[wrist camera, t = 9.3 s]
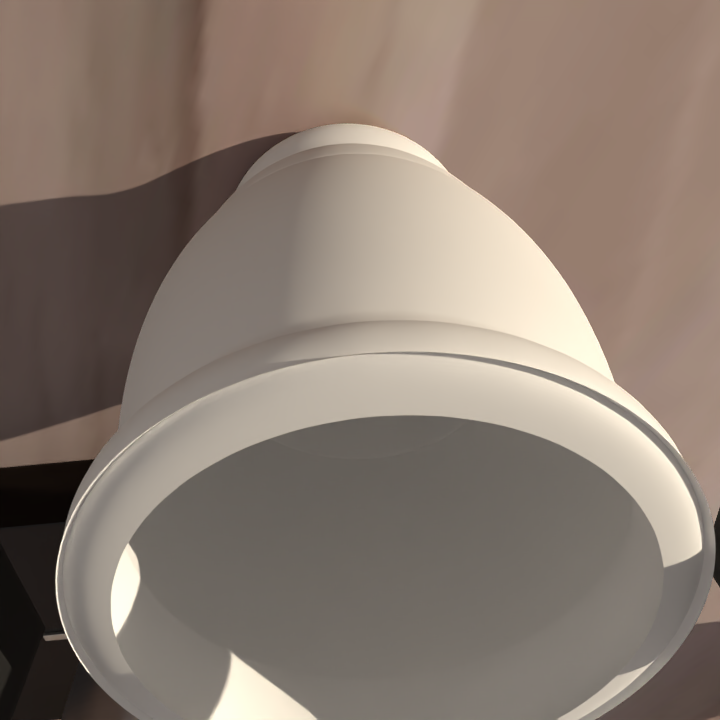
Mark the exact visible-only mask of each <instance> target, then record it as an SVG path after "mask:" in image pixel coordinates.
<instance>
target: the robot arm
mask: <svg viewBox="0 0 720 720" xmlns="http://www.w3.org/2000/svg"><path fill="white" fill-rule="evenodd" d="M714 532H715V545H716V552H715V566H714V573H713V577H714V579H715V580H716V582H717V583H718V585H719V587H720V509H719V512H718V515H717V518H716V521H715V524H714ZM45 628H46V627H45V625H44V624H43V622H42V620H41V618H40V616H39V614H38V612H37V610H36V609H35V607H34V605H33V603H32V601H31V599H30V597H29V595H28V594H27V592H26V590H25V588H24V586H23V584H22V582H21V580H20V579H19V577H18V575H17V573H16V571H15V569H14V567H13V565H12V564H11V562H10V560H9V558H8V556H7V554H6V552H5V550H4V549H3V547H2V545H1V543H0V720H12V717H13V714H14V711H15V709H16V706H17V703H18V701H19V698H20V695H21V693H22V690H23V687H24V685H25V682H26V679H27V676H28V674H29V671H30V668H31V666H32V663H33V660H34V658H35V655H36V652H37V650H38V647H39V644H40V642H41V639H42V636H43V633H44V631H45Z"/></svg>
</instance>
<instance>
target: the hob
mask: <svg viewBox="0 0 720 720" xmlns="http://www.w3.org/2000/svg"><path fill="white" fill-rule="evenodd" d="M93 461H94V460H86V461H75V462H64V463H53V464H42V465H31V466H21V467H10V468H0V543H1V545H2V547H3V549H4V550H5V552H6V554H7V556H8V558H9V560H10V562H11V564H12V565H13V567H14V569H15V571H16V573H17V575H18V577H19V579H20V580H21V582H22V584H23V586H24V588H25V590H26V592H27V594H28V595H29V597H30V599H31V601H32V603H33V605H34V607H35V609H36V610H37V612H38V614H39V616H40V618H41V620H42V622H43V624H44V625H45V627H46V628H45V631H44V633H43V636H42V639H41V642H40V644H39V647H38V650H37V652H36V655H35V658H34V660H33V663H32V666H31V668H30V671H29V674H28V676H27V679H26V682H25V685H24V687H23V690H22V693H21V695H20V698H19V701H18V703H17V706H16V709H15V711H14V714H13V717H12V720H57V719H62V715H63V712H64V709H65V706H66V703H67V700H68V696H69V693H70V690H71V687H72V684H73V680H74V677H75V674H76V671H77V668H78V664H79V661H80V660H79V659H78V657H77V656H76V654H75V652H74V650H73V649H72V647H71V645H70V643H69V640H68V638H67V636H66V633H65V631H64V628H63V625H62V622H61V618H60V615H59V610H58V605H57V598H56V566H57V559H58V553H59V549H60V545H61V541H62V538H63V533H64V529H65V524H66V520H67V517H68V513H69V510H70V507H71V504H72V501H73V499H74V496H75V494H76V492H77V490H78V488H79V486H80V484H81V482H82V480H83V478H84V476H85V474H86V473H87V471H88V469H89V468H90V466H91V464H92V463H93Z"/></svg>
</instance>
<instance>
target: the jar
mask: <svg viewBox="0 0 720 720" xmlns="http://www.w3.org/2000/svg"><path fill="white" fill-rule="evenodd" d="M715 552H716V545H715V532H714V525H713V520H712V516H711V512H710V509H709V506H708V503H707V500H706V497H705V495H704V493H703V490H702V488H701V486H700V484H699V482H698V480H697V479H696V477H695V475H694V474H693V472H692V470H691V469H690V467H689V466H688V465H687V463H686V462H685V460H684V459H683V457H682V455H681V454H680V452H679V450H678V449H677V447H676V445H675V444H674V442H673V441H672V439H671V438H670V436H669V435H668V434H667V432H666V431H665V430H664V429H663V427H662V426H661V425H660V424H659V423H658V422H657V420H656V419H655V418H654V417H653V416H652V415H651V414H650V413H649V412H648V411H647V410H646V409H645V408H644V407H643V406H642V405H641V404H640V403H639V402H638V401H637V400H636V399H635V398H633V397H632V396H631V395H630V394H629V393H628V392H626V391H625V390H624V389H623V388H621V387H620V386H618V385H617V384H616V383H615V382H614V380H613V377H612V374H611V371H610V369H609V366H608V364H607V361H606V359H605V356H604V354H603V352H602V349H601V347H600V345H599V342H598V340H597V338H596V336H595V334H594V332H593V330H592V328H591V326H590V324H589V322H588V320H587V318H586V316H585V314H584V312H583V310H582V309H581V307H580V305H579V303H578V301H577V300H576V298H575V296H574V295H573V293H572V292H571V290H570V288H569V287H568V285H567V284H566V282H565V281H564V279H563V278H562V276H561V275H560V274H559V272H558V271H557V269H556V268H555V267H554V265H553V264H552V263H551V261H550V260H549V259H548V258H547V256H546V255H545V254H544V253H543V252H542V250H541V249H540V248H539V247H538V246H537V245H536V244H535V242H534V241H533V240H532V239H531V238H530V237H529V236H528V235H527V234H526V233H525V232H524V231H523V230H522V229H521V228H520V227H519V226H518V225H517V224H516V223H515V222H514V221H513V220H512V219H510V218H509V217H508V216H507V215H506V214H505V213H504V212H502V211H501V210H500V209H499V208H498V207H496V206H495V205H494V204H492V203H491V202H490V201H488V200H487V199H486V198H484V197H483V196H482V195H480V194H479V193H477V192H476V191H474V190H473V189H471V188H470V187H468V186H467V185H466V184H464V183H463V182H462V181H460V180H459V179H458V178H456V177H455V176H453V175H452V174H450V173H449V172H448V171H447V170H446V169H445V168H444V167H443V165H442V164H441V163H440V162H439V161H438V160H437V159H436V158H435V157H434V156H433V155H431V154H430V153H429V152H428V151H427V150H425V149H424V148H423V147H421V146H420V145H418V144H417V143H415V142H413V141H412V140H410V139H408V138H406V137H404V136H402V135H400V134H397V133H395V132H392V131H389V130H386V129H383V128H379V127H375V126H370V125H363V124H350V123H344V124H331V125H324V126H319V127H315V128H311V129H308V130H305V131H302V132H299V133H297V134H295V135H292V136H290V137H288V138H287V139H285V140H283V141H281V142H280V143H278V144H276V145H275V146H273V147H272V148H271V149H269V150H268V151H267V152H266V153H265V154H263V155H262V156H261V157H260V158H259V159H258V160H257V161H256V162H255V163H254V164H253V165H252V167H251V168H250V169H249V170H248V172H247V173H246V174H245V176H244V177H243V179H242V180H241V182H240V184H239V185H238V187H237V189H236V191H235V192H234V193H233V194H232V195H231V196H230V197H229V198H228V199H227V200H226V202H225V203H224V204H223V205H222V206H221V207H220V208H219V210H218V211H217V212H216V213H215V214H214V215H213V216H212V217H211V218H210V219H209V220H208V221H207V222H206V223H205V224H204V225H203V226H202V227H201V228H200V230H199V231H198V232H197V233H196V234H195V235H194V237H193V238H192V239H191V240H190V241H189V243H188V244H187V245H186V247H185V248H184V249H183V251H182V252H181V253H180V255H179V256H178V258H177V259H176V261H175V262H174V264H173V265H172V267H171V269H170V270H169V272H168V273H167V275H166V277H165V279H164V280H163V282H162V284H161V286H160V288H159V290H158V292H157V294H156V296H155V298H154V300H153V302H152V304H151V306H150V308H149V311H148V313H147V315H146V318H145V320H144V323H143V326H142V328H141V331H140V334H139V337H138V340H137V343H136V346H135V349H134V353H133V356H132V360H131V363H130V367H129V371H128V376H127V380H126V385H125V389H124V395H123V400H122V406H121V412H120V419H119V427H118V431H117V432H116V433H115V434H114V435H113V436H112V437H111V438H110V439H109V441H108V442H107V443H106V444H105V446H104V447H103V448H102V450H101V451H100V452H99V454H98V455H97V457H96V458H95V460H94V461H93V463H92V464H91V466H90V468H89V469H88V471H87V473H86V474H85V476H84V478H83V480H82V482H81V484H80V486H79V488H78V490H77V492H76V494H75V496H74V499H73V501H72V504H71V507H70V510H69V513H68V517H67V520H66V524H65V529H64V533H63V538H62V541H61V545H60V549H59V553H58V559H57V566H56V598H57V605H58V610H59V615H60V618H61V622H62V625H63V628H64V631H65V633H66V636H67V638H68V640H69V643H70V645H71V647H72V649H73V650H74V652H75V654H76V656H77V657H78V659H79V660H80V662H81V663H82V665H83V666H84V668H85V669H86V670H87V672H88V673H89V674H90V676H91V677H92V678H93V679H94V680H95V682H96V683H97V684H98V685H99V686H100V687H101V688H102V689H103V690H104V691H105V692H106V693H107V694H108V695H109V696H110V697H111V698H112V699H113V700H115V701H116V702H117V703H118V704H119V705H120V706H122V707H123V708H124V709H125V710H127V711H128V712H129V713H131V714H132V715H133V716H135V717H136V718H138V719H139V720H595V719H597V718H599V717H600V716H602V715H603V714H605V713H607V712H608V711H610V710H611V709H613V708H614V707H616V706H617V705H619V704H620V703H622V702H623V701H624V700H626V699H627V698H628V697H630V696H631V695H632V694H634V693H635V692H636V691H637V690H639V689H640V688H641V687H642V686H643V685H645V684H646V683H647V682H648V681H649V680H650V679H651V678H652V677H653V676H654V675H655V674H657V673H658V672H659V671H660V670H661V668H662V667H663V666H664V665H665V664H666V663H667V662H668V661H669V660H670V659H671V658H672V656H673V655H674V654H675V653H676V651H677V650H678V649H679V648H680V646H681V645H682V644H683V642H684V641H685V639H686V638H687V636H688V635H689V633H690V632H691V630H692V628H693V627H694V625H695V623H696V621H697V619H698V617H699V615H700V613H701V611H702V609H703V607H704V604H705V602H706V599H707V596H708V593H709V590H710V586H711V582H712V578H713V573H714V566H715Z"/></svg>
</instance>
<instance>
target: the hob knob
mask: <svg viewBox="0 0 720 720" xmlns="http://www.w3.org/2000/svg"><path fill="white" fill-rule="evenodd" d="M61 720H139V719H138V718H136V717H135V716H133V715H132V714H131V713H129V712H128V711H127V710H125V709H124V708H123V707H122V706H120V705H119V704H118V703H117V702H116V701H115V700H113V699H112V698H111V697H110V696H109V695H108V694H107V693H106V692H105V691H104V690H103V689H102V688H101V687H100V686H99V685H98V684H97V683H96V682H95V680H94V679H93V678H92V677H91V676H90V674H89V673H88V672H87V670H86V669H85V668H84V666H83V665H82V663H81V662H80V661H79V664H78V668H77V671H76V674H75V677H74V680H73V684H72V687H71V690H70V693H69V696H68V700H67V703H66V706H65V709H64V712H63V715H62V719H61Z"/></svg>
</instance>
